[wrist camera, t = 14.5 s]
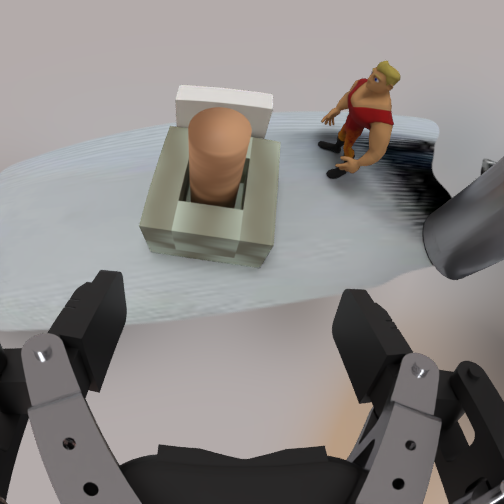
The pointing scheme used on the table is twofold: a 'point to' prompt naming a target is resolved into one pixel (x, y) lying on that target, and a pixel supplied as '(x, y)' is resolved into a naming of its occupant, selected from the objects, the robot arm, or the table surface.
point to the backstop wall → (225, 105)
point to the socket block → (212, 207)
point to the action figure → (364, 119)
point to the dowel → (217, 155)
